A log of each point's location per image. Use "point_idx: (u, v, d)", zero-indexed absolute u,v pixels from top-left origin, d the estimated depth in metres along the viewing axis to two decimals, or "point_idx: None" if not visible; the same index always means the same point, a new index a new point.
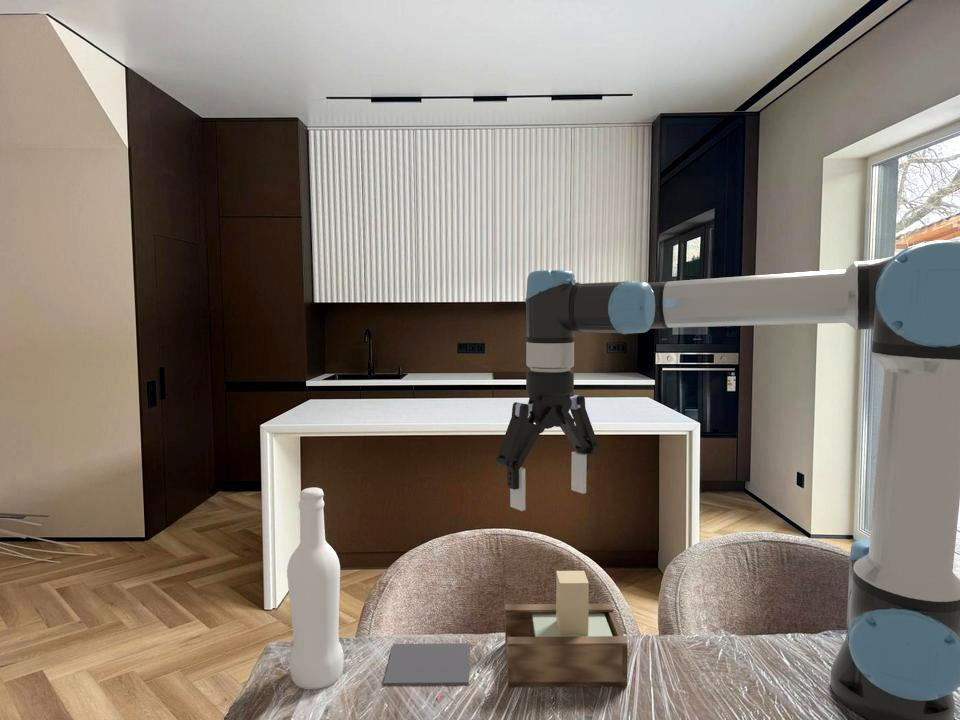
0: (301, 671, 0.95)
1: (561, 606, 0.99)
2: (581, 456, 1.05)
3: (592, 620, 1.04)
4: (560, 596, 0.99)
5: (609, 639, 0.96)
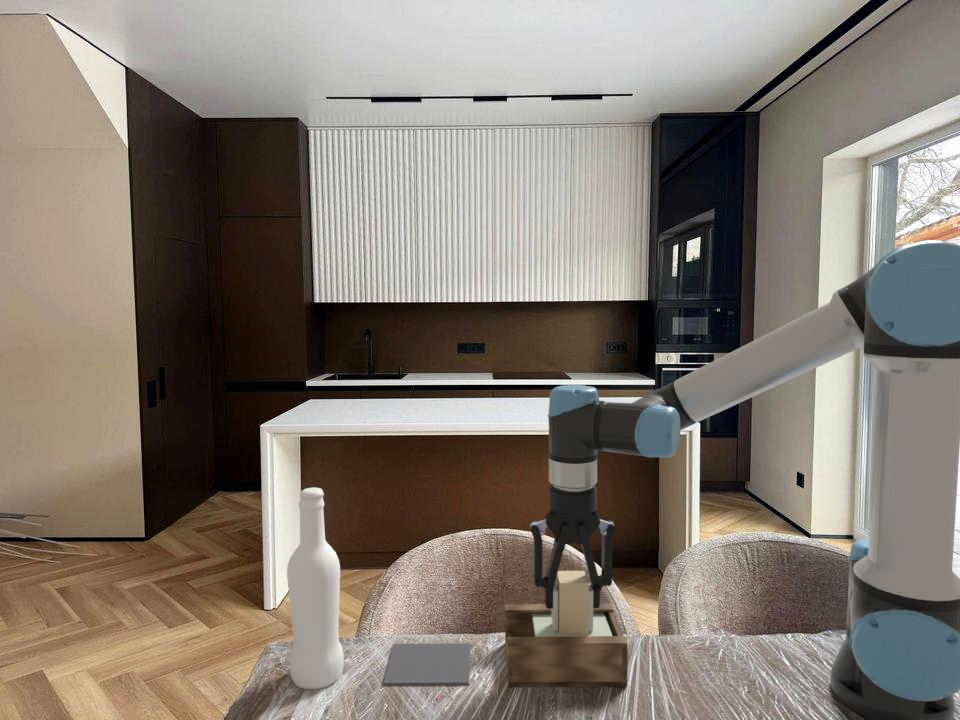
0: (301, 671, 0.95)
1: (561, 606, 0.99)
2: None
3: None
4: (560, 596, 0.99)
5: (609, 639, 0.96)
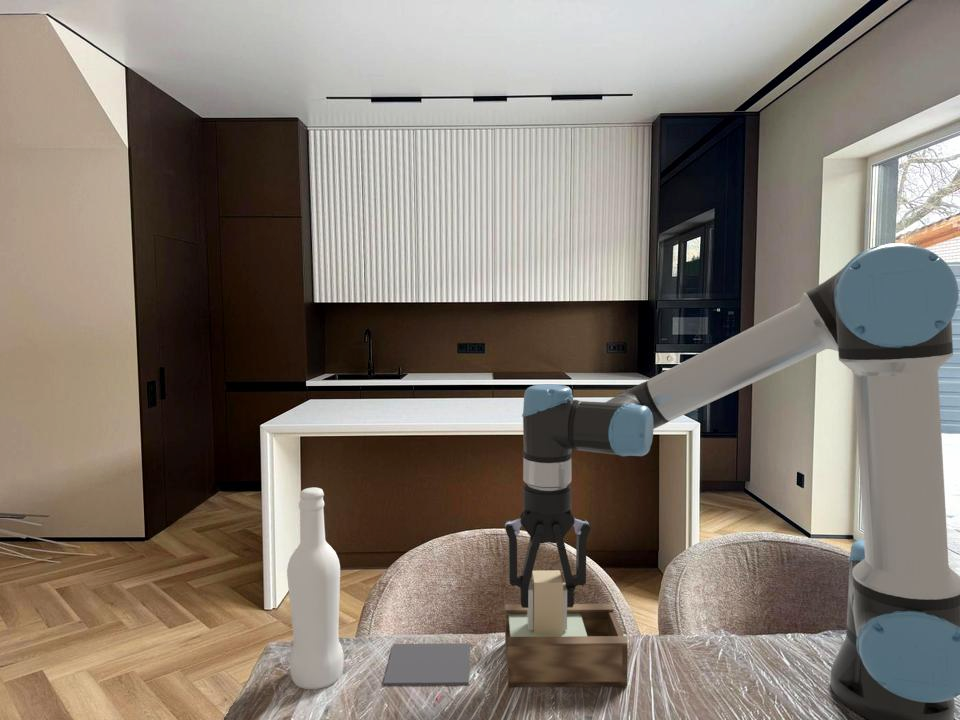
0: (301, 671, 0.95)
1: (536, 606, 0.99)
2: None
3: (568, 620, 1.04)
4: (535, 596, 0.99)
5: (609, 639, 0.96)
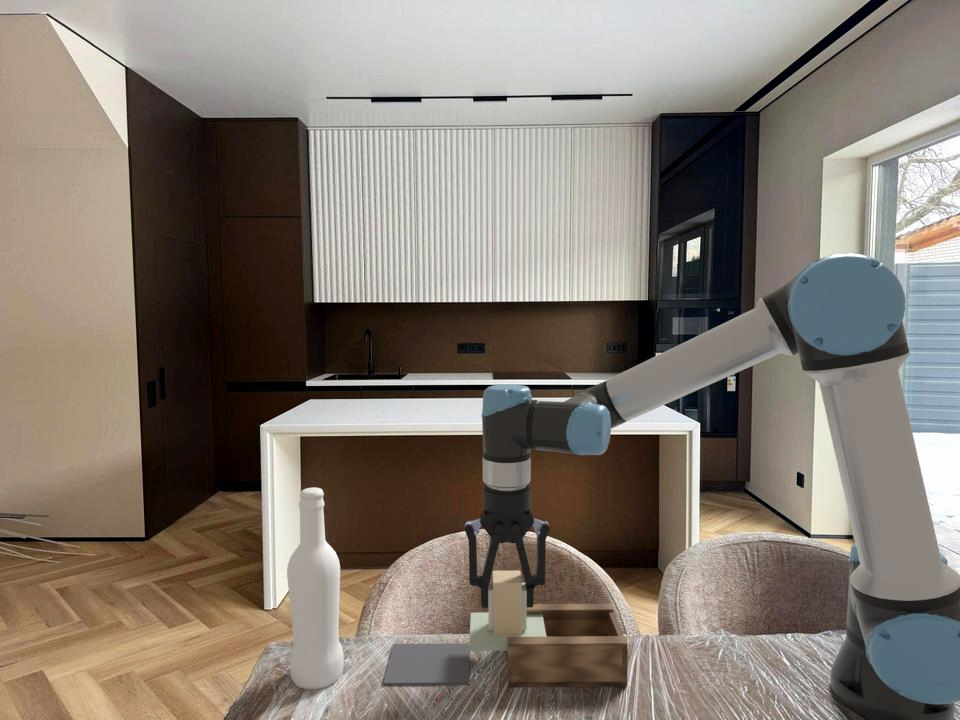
0: (301, 671, 0.95)
1: (495, 606, 0.99)
2: None
3: (529, 620, 1.04)
4: (494, 596, 0.99)
5: (609, 639, 0.96)
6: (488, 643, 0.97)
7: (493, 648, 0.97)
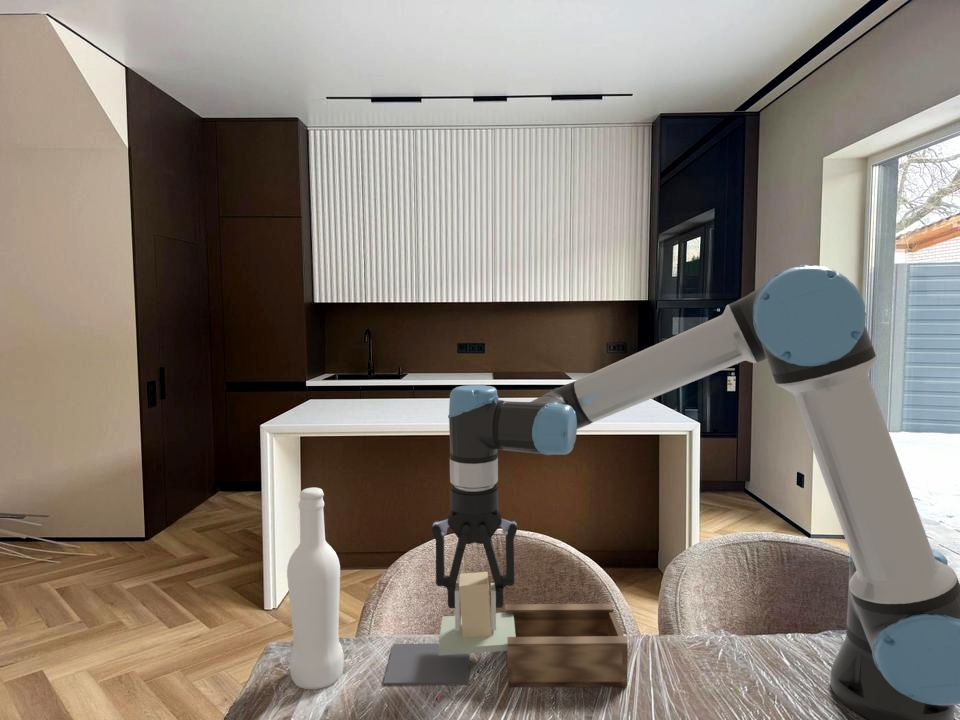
0: (301, 671, 0.95)
1: (462, 609, 0.99)
2: None
3: (500, 620, 1.04)
4: (460, 599, 0.99)
5: (609, 639, 0.96)
6: (457, 646, 0.97)
7: (462, 651, 0.97)
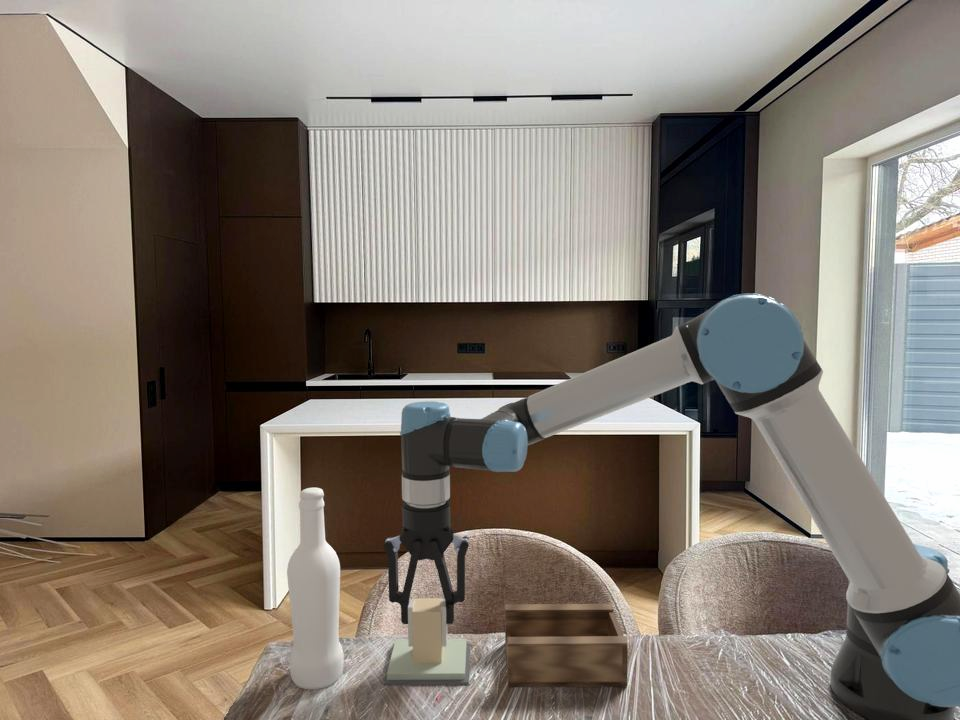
0: (301, 671, 0.95)
1: (414, 634, 1.00)
2: (441, 607, 1.01)
3: (452, 647, 1.05)
4: (413, 624, 1.00)
5: (609, 639, 0.96)
6: (406, 672, 0.98)
7: (410, 677, 0.98)
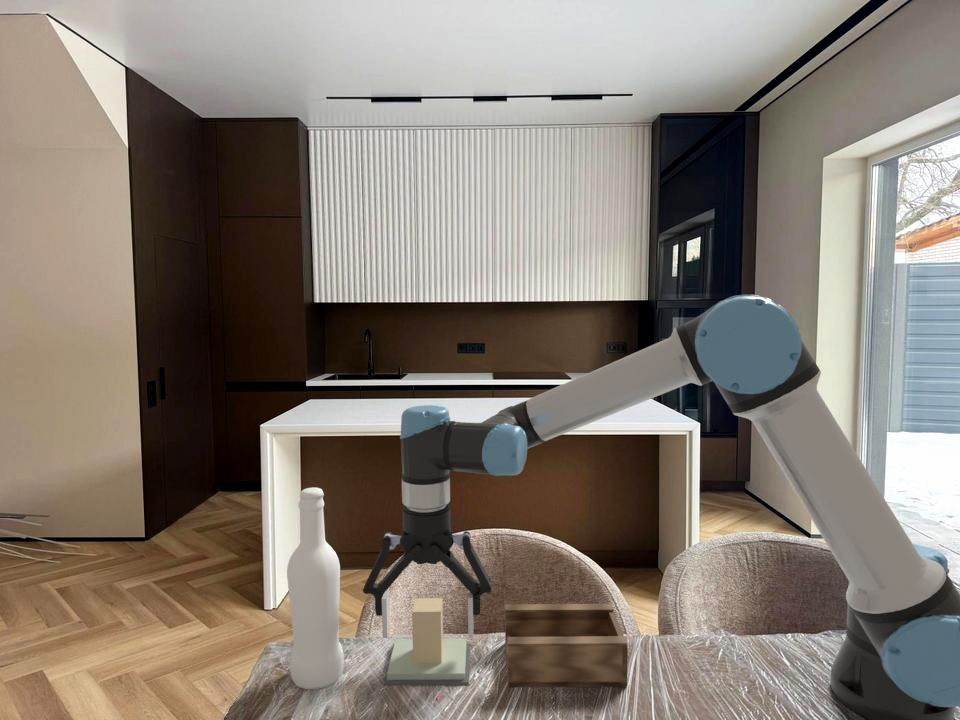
0: (301, 671, 0.95)
1: (414, 634, 1.00)
2: (468, 598, 1.00)
3: (452, 647, 1.05)
4: (413, 624, 1.00)
5: (609, 639, 0.96)
6: (406, 672, 0.98)
7: (410, 677, 0.98)
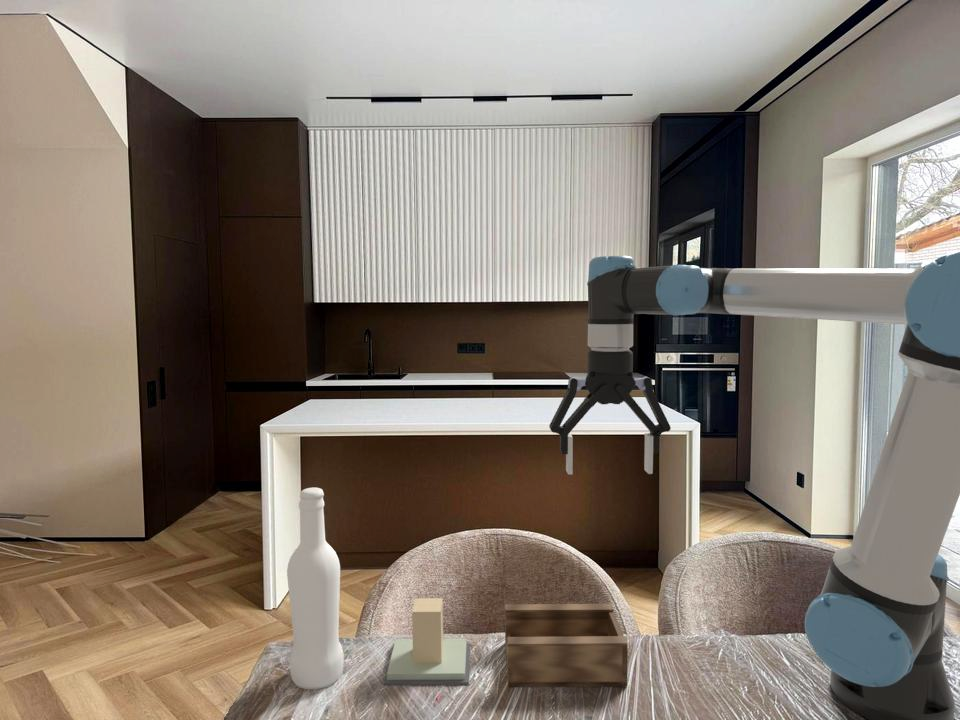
0: (301, 671, 0.95)
1: (414, 634, 1.00)
2: (648, 437, 1.08)
3: (452, 647, 1.05)
4: (413, 624, 1.00)
5: (609, 639, 0.96)
6: (406, 672, 0.98)
7: (410, 677, 0.98)
